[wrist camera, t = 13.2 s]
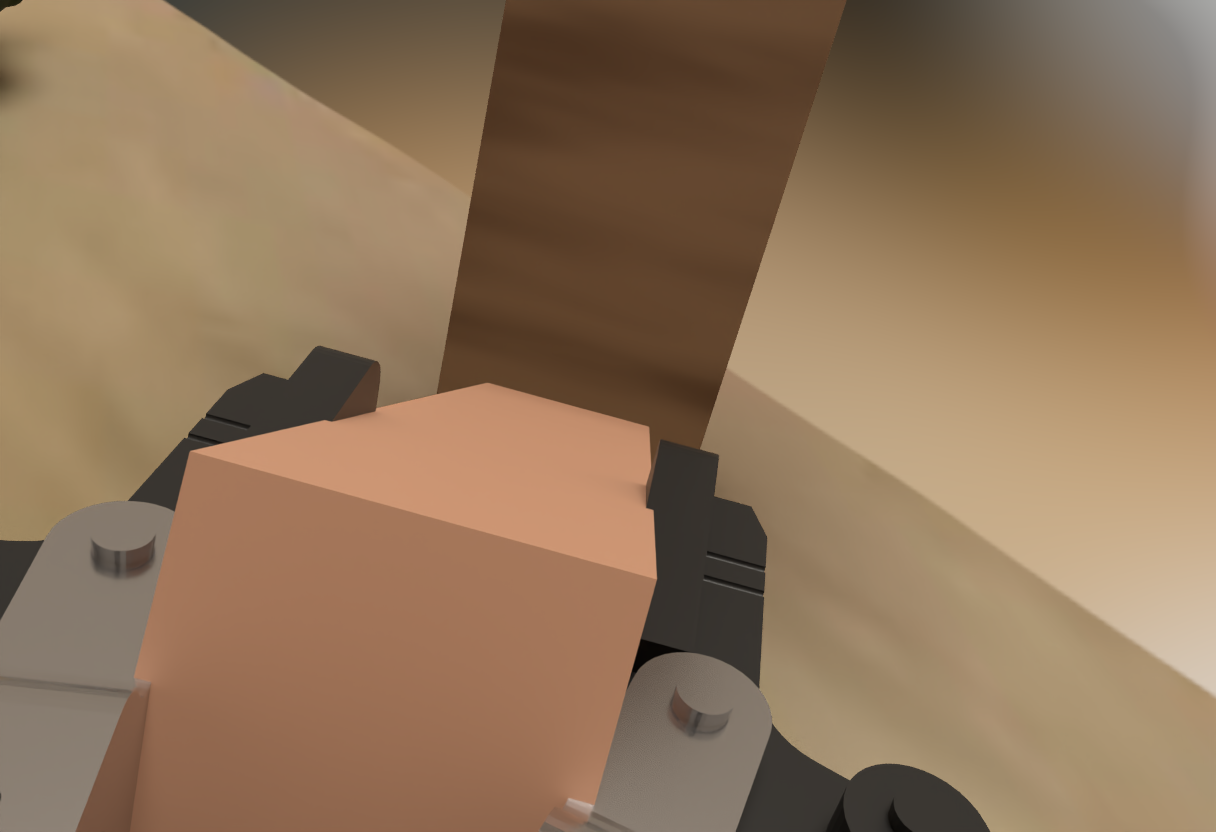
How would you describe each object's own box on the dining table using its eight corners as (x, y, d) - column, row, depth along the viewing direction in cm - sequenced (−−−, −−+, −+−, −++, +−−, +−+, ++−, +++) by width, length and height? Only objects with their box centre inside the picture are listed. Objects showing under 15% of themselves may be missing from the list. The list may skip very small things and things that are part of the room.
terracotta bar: (530, 1032, 9) (656, 580, 8) (77, 904, 9) (190, 450, 8) (605, 586, 25) (649, 426, 24) (444, 542, 25) (487, 382, 24)
